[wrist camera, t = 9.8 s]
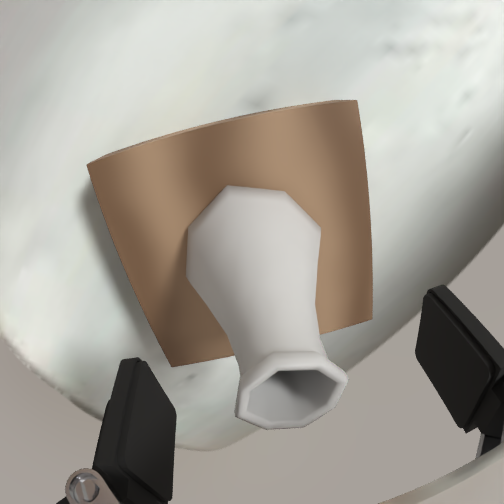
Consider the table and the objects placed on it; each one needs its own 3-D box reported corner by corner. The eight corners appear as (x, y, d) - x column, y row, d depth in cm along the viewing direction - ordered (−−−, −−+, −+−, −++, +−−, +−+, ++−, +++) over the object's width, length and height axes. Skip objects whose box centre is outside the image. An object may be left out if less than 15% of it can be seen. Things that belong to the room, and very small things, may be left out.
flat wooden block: (330, 100, 18) (357, 100, 14) (351, 288, 24) (372, 319, 20) (109, 152, 18) (86, 164, 14) (175, 330, 24) (171, 367, 20)
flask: (279, 320, 19) (321, 463, 10) (165, 281, 17) (136, 437, 8) (340, 218, 17) (450, 333, 8) (217, 160, 15) (222, 245, 6)
